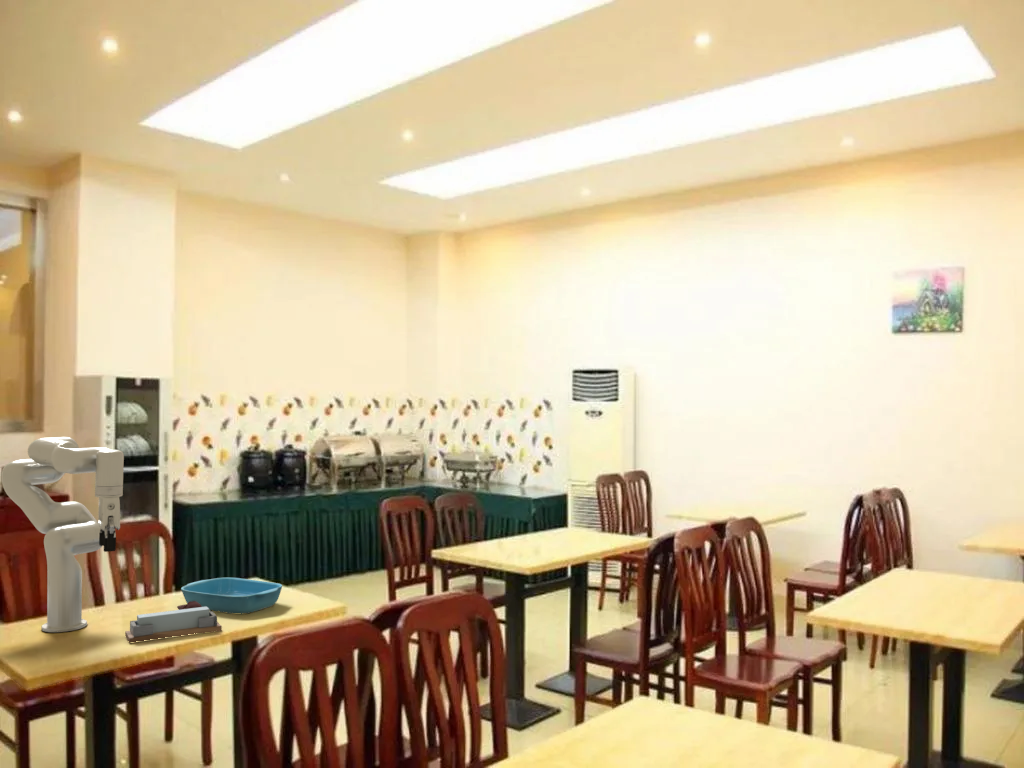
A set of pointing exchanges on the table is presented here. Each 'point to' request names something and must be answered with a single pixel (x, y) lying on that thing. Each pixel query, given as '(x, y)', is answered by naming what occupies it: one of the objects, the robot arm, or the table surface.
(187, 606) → the icecream
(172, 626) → the slat
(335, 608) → the table surface
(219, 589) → the casserole dish
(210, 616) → the end caps
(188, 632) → the board
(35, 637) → the table surface
